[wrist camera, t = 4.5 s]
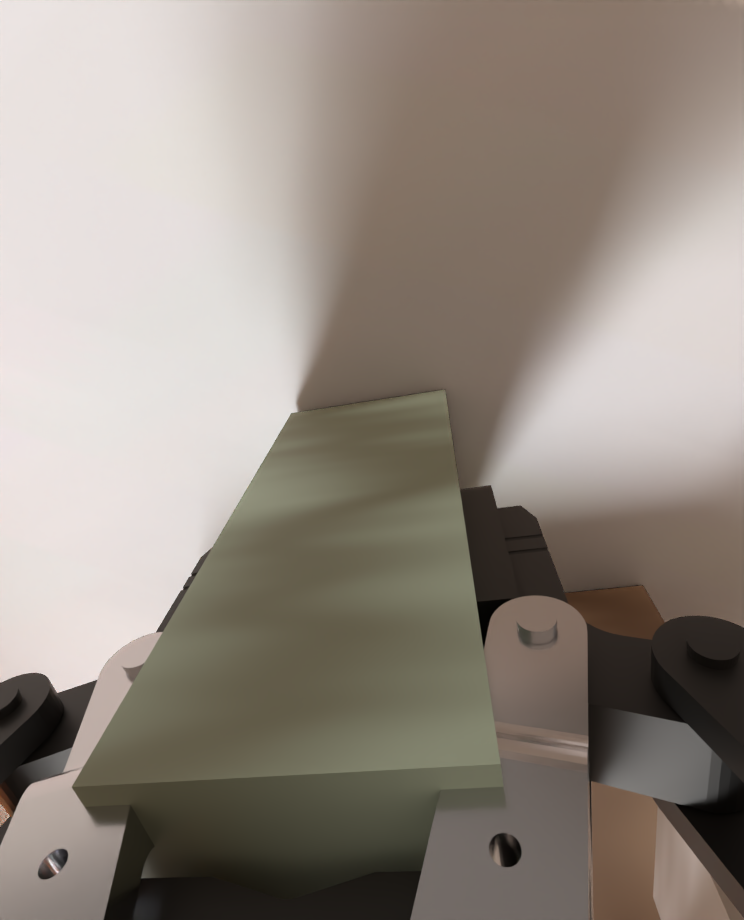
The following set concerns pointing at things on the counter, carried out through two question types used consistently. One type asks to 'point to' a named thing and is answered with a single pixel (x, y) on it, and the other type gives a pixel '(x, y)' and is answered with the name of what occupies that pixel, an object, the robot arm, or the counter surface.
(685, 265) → the counter surface
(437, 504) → the green plug
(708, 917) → the socket block
